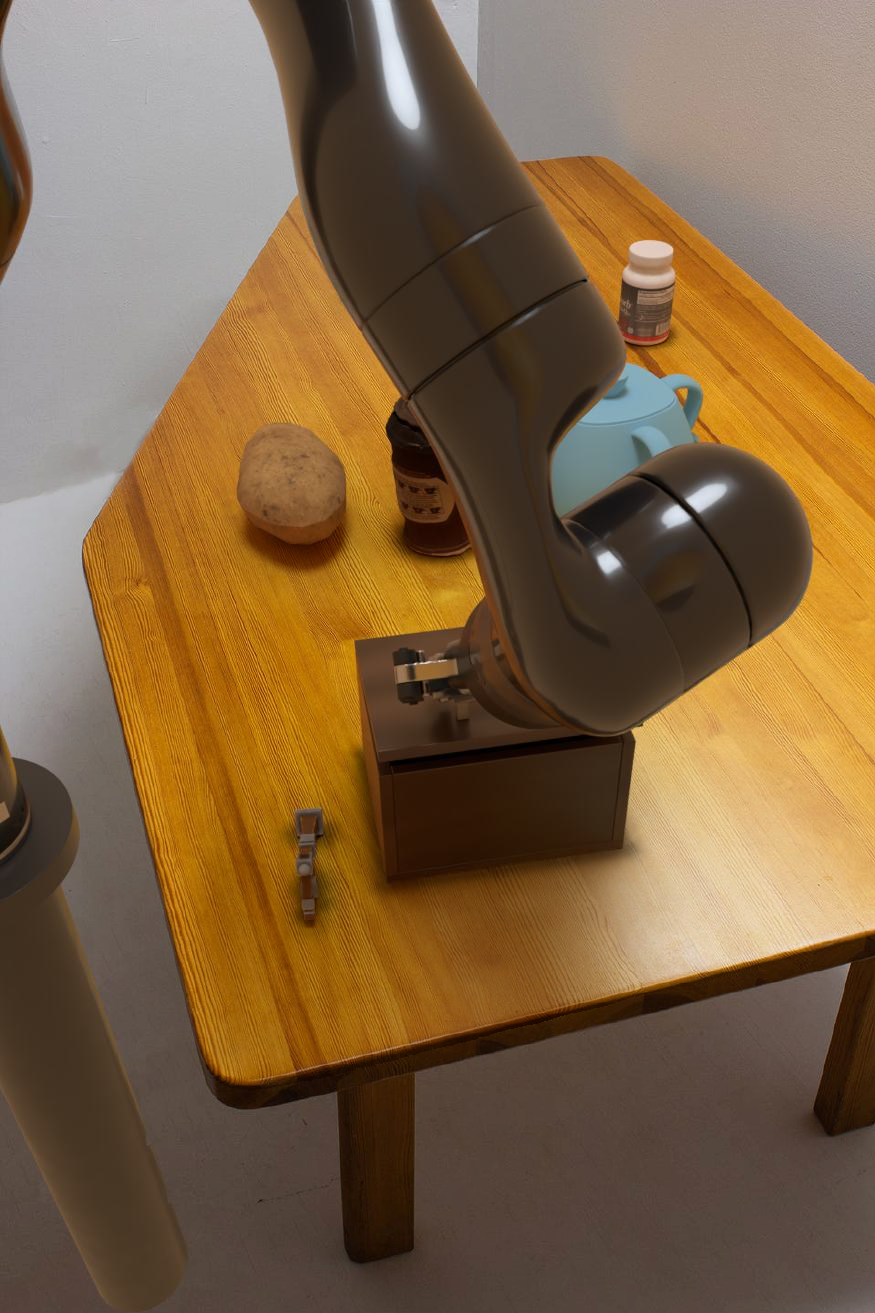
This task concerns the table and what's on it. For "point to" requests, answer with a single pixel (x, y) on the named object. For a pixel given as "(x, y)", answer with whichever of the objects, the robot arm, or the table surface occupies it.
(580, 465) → the decorative pot
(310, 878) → the wooden post with brackets
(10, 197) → the robot arm
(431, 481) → the coffee cup
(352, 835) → the table surface
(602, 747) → the wooden storage box
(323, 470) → the potato
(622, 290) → the pill bottle
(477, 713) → the lid
